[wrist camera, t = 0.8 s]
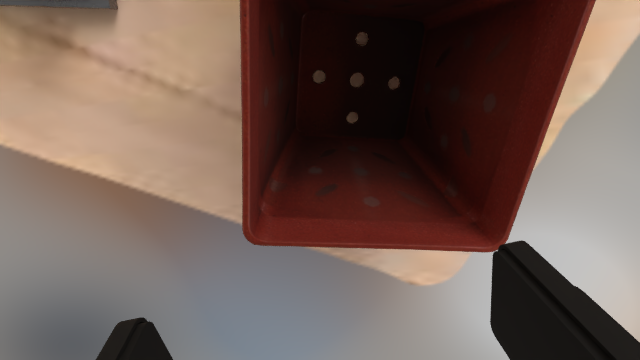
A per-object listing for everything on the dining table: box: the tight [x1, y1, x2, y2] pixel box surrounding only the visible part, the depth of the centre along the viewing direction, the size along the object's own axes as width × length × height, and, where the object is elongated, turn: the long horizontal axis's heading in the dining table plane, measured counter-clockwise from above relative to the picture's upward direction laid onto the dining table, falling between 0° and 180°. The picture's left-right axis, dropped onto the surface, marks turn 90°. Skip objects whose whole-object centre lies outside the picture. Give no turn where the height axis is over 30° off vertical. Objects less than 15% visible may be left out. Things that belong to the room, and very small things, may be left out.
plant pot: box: [240, 0, 596, 252], centre depth 28 cm, size 19×19×17 cm
